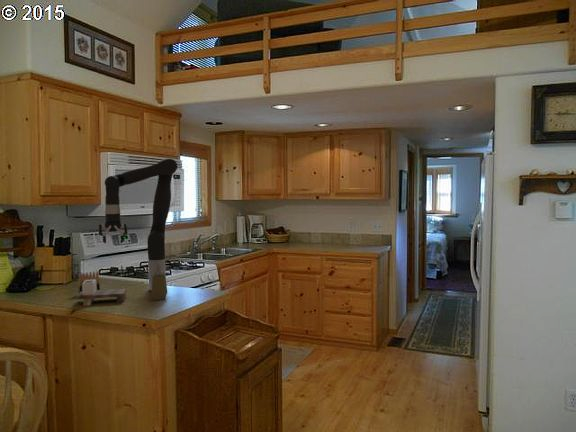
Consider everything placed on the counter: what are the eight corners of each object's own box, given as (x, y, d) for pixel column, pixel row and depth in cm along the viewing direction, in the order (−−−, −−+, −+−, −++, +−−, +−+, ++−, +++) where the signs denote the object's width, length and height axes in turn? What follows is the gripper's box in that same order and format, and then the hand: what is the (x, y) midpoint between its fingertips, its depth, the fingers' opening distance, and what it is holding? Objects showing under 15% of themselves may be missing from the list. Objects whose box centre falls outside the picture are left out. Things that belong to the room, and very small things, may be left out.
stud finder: (96, 290, 224) (96, 279, 224) (93, 294, 216) (93, 282, 215) (86, 291, 223) (85, 279, 223) (82, 295, 214) (82, 282, 214)
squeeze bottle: (153, 301, 219) (152, 266, 218) (150, 298, 226) (149, 264, 225) (169, 299, 222) (168, 264, 222) (165, 296, 230) (165, 262, 229)
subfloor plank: (127, 296, 231) (126, 287, 231) (123, 303, 216) (123, 294, 216) (82, 299, 226) (82, 290, 226) (75, 306, 210) (75, 297, 210)
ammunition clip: (79, 295, 236) (78, 273, 235) (78, 294, 237) (77, 272, 237) (100, 292, 242) (99, 271, 242) (99, 291, 244) (98, 270, 243)
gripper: (127, 212, 241) (128, 241, 242) (99, 213, 237) (100, 242, 238) (125, 213, 234) (126, 243, 234) (97, 213, 230) (98, 244, 231)
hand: (113, 242), depth 236 cm, fingers open, 8 cm apart
